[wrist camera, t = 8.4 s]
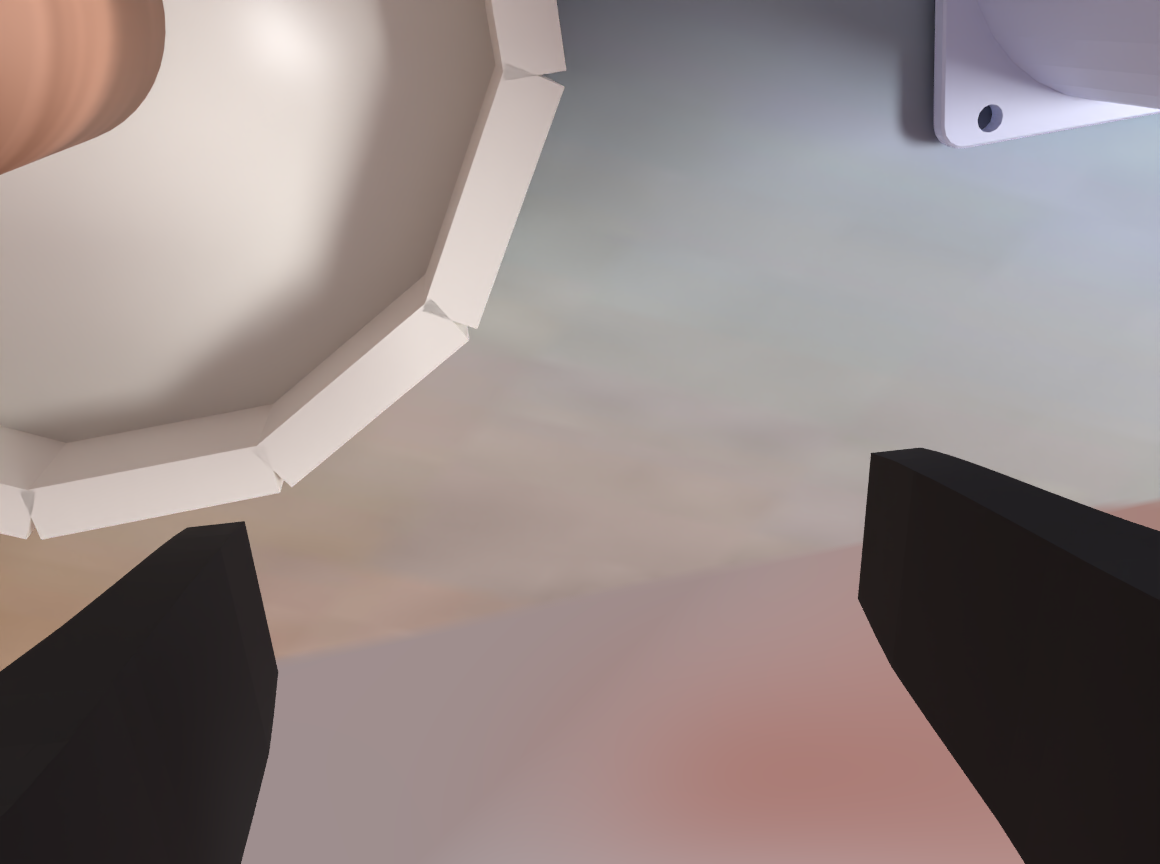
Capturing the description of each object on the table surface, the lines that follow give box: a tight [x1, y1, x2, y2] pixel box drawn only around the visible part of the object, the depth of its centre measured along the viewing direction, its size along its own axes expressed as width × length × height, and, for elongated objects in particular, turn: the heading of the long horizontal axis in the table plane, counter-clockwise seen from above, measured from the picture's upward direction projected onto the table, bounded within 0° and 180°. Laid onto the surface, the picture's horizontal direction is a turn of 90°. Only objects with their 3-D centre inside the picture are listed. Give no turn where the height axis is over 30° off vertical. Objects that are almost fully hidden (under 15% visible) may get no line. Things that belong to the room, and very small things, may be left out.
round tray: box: [0, 0, 566, 540], centre depth 15 cm, size 17×17×3 cm
